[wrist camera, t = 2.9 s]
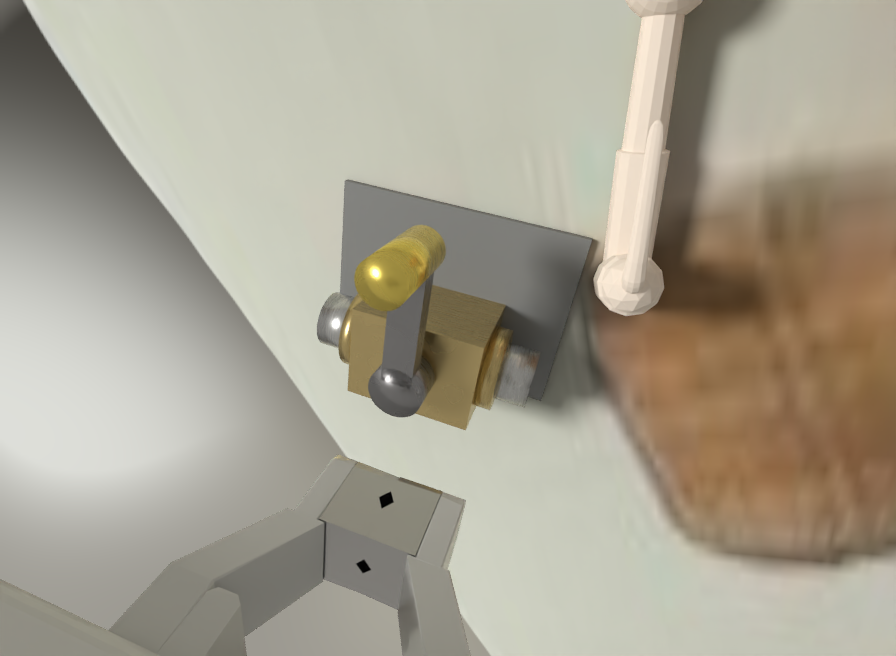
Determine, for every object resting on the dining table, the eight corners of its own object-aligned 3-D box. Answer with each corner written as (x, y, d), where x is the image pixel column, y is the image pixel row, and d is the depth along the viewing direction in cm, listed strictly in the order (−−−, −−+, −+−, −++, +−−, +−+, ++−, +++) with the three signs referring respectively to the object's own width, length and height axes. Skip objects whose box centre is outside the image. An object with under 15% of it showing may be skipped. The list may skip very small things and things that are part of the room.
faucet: (700, -18, 25) (763, -188, 16) (655, 311, 28) (685, 334, 18) (620, -11, 26) (634, -166, 17) (583, 305, 29) (578, 323, 19)
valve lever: (430, 402, 28) (394, 464, 24) (382, 386, 29) (337, 443, 24) (460, 230, 23) (420, 267, 18) (399, 215, 24) (346, 247, 19)
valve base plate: (592, 238, 28) (592, 240, 27) (541, 397, 34) (540, 400, 33) (347, 179, 31) (344, 180, 31) (340, 335, 37) (338, 337, 37)
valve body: (550, 317, 30) (537, 364, 25) (528, 391, 33) (513, 446, 28) (354, 263, 33) (306, 295, 28) (350, 335, 36) (306, 376, 31)
